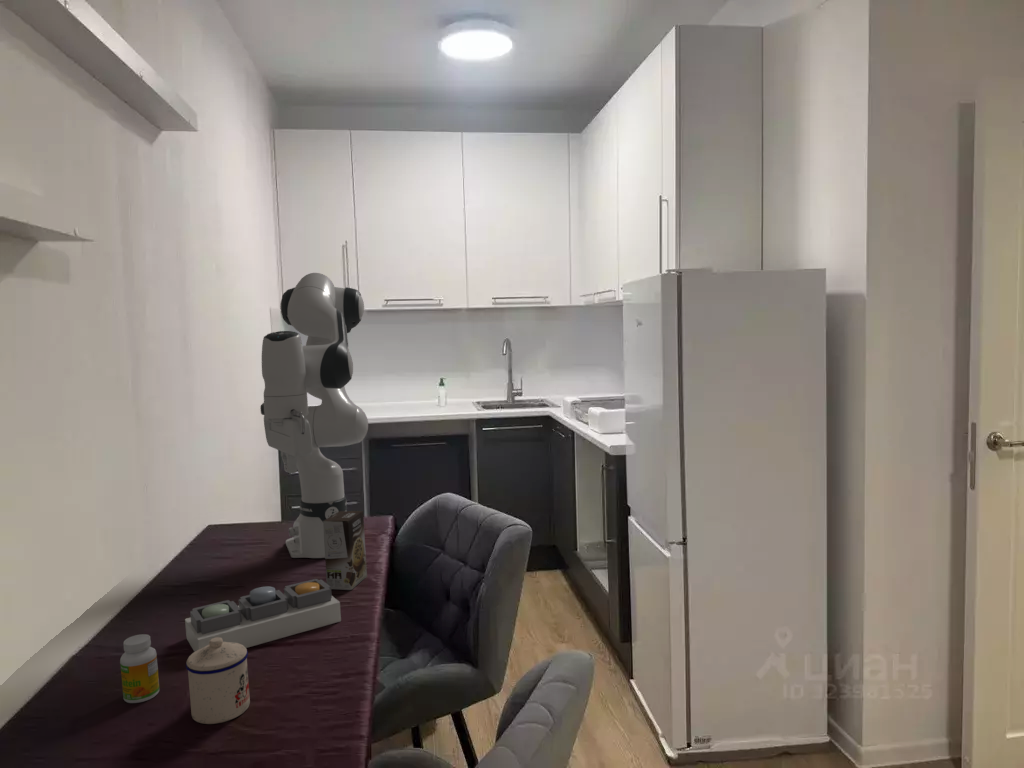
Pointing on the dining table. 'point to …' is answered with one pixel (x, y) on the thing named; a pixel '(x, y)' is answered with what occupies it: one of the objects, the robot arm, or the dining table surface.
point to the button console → (265, 617)
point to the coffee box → (345, 549)
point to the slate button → (262, 595)
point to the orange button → (306, 588)
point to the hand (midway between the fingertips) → (290, 472)
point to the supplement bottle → (139, 669)
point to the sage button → (215, 610)
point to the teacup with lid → (218, 681)
